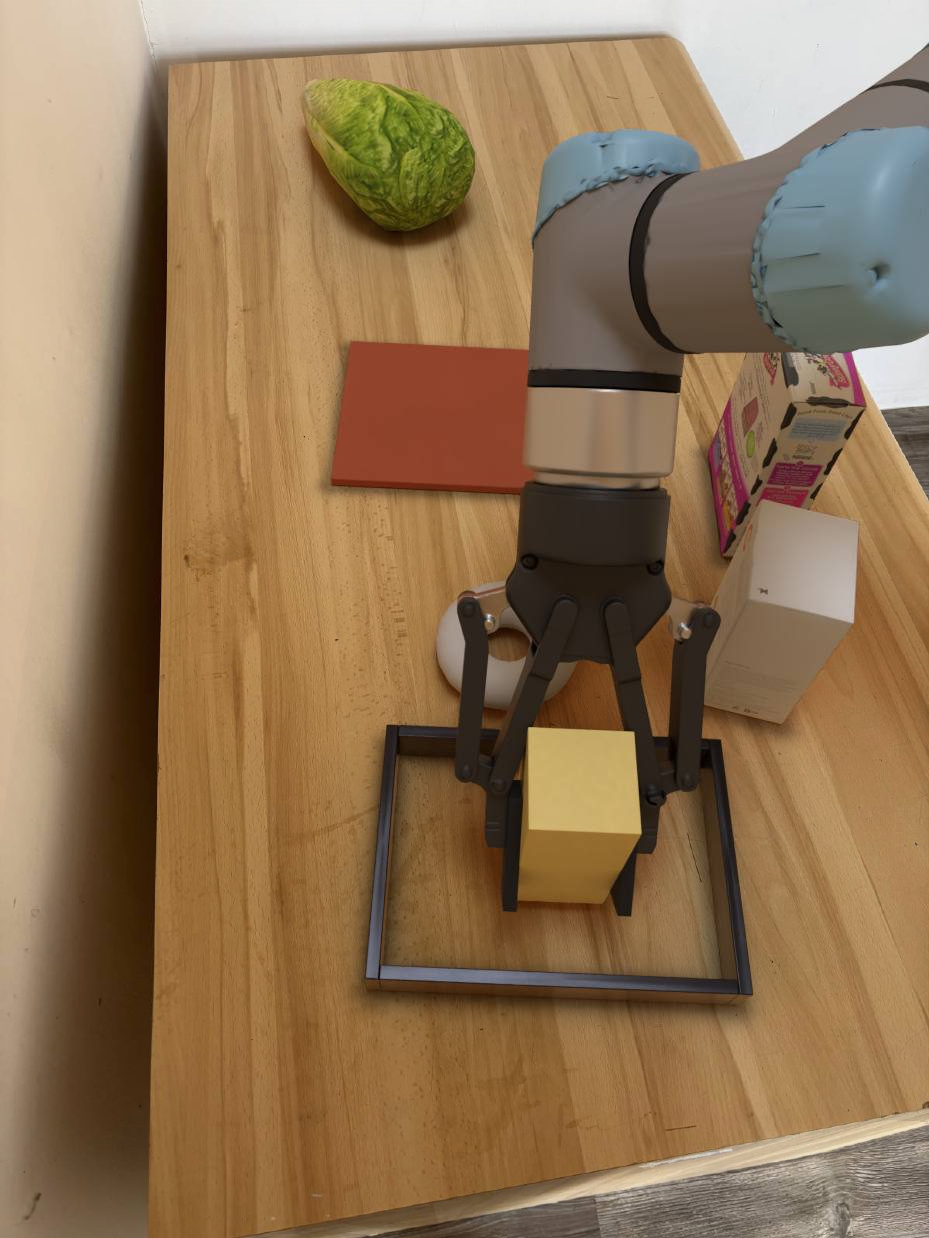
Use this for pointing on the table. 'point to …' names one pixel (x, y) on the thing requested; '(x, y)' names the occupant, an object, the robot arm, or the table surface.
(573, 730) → the carton
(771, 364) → the candy bar box
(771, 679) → the small box
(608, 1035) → the table surface
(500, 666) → the donut
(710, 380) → the table surface
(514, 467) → the mat
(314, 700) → the table surface
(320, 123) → the lettuce
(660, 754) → the frame
